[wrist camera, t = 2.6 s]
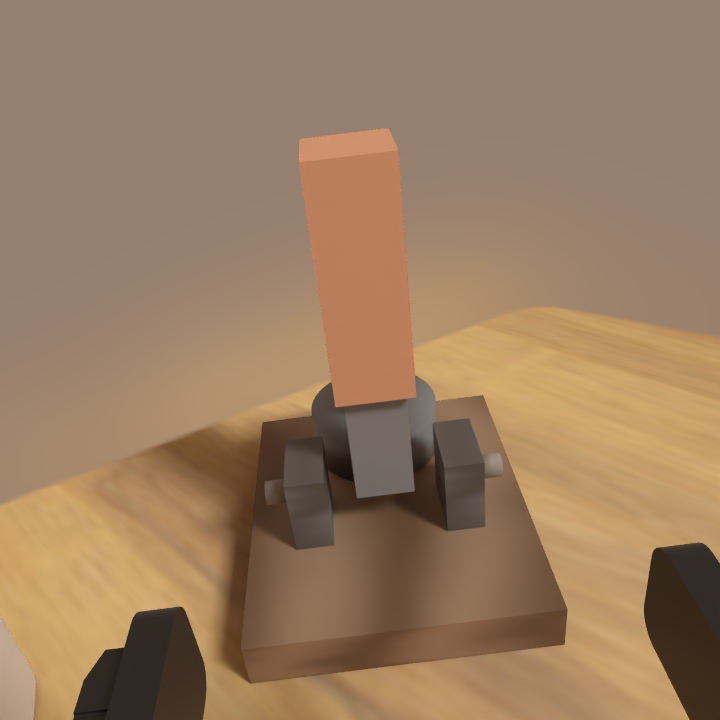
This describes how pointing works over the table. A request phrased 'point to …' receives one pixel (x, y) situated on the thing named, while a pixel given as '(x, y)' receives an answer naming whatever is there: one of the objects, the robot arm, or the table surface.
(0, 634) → the milk carton
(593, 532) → the table surface
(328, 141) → the lever
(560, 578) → the table surface
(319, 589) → the base
